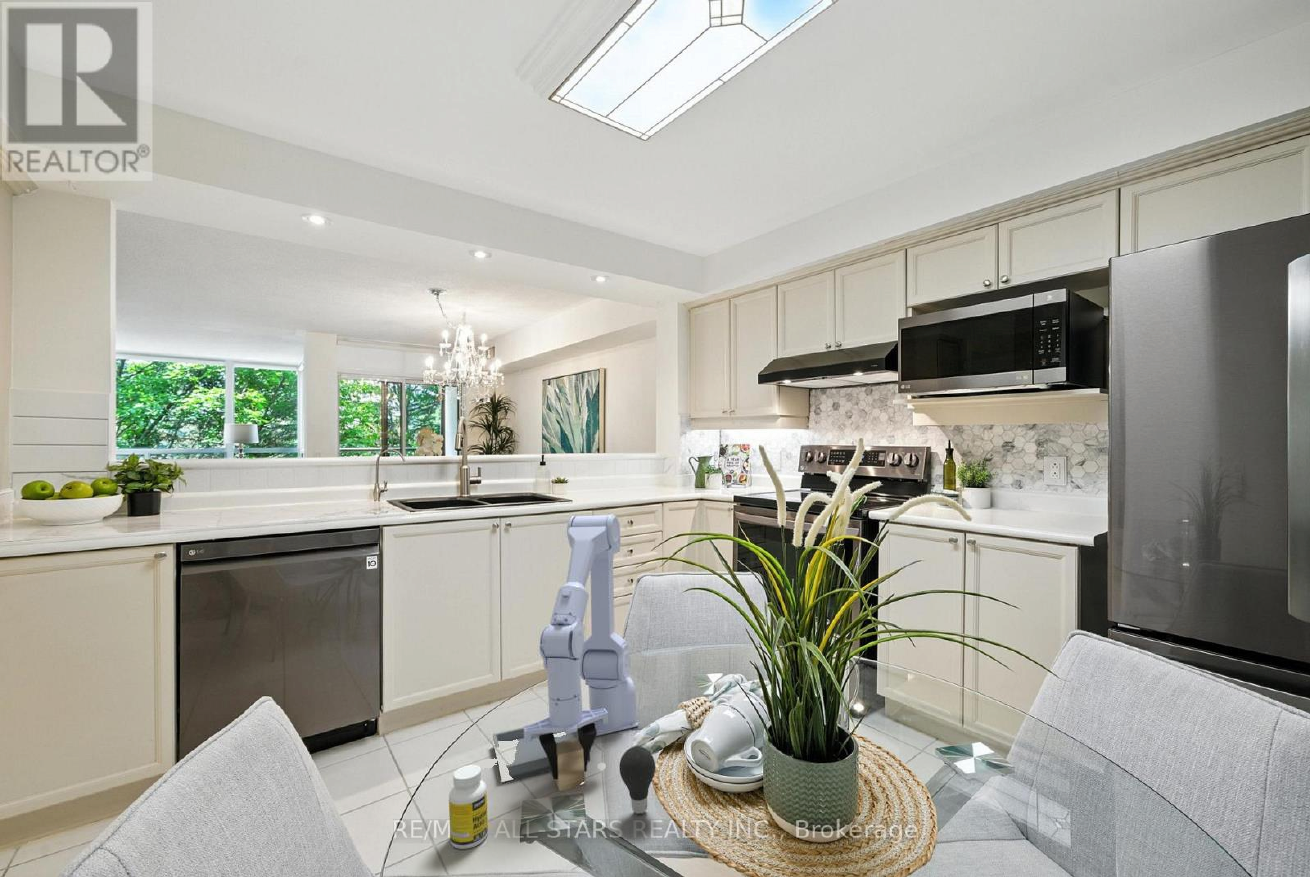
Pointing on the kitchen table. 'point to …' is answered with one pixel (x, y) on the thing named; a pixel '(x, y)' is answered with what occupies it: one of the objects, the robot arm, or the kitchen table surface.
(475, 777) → the supplement bottle
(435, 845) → the kitchen table surface
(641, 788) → the light bulb
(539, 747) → the tray
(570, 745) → the oak block
